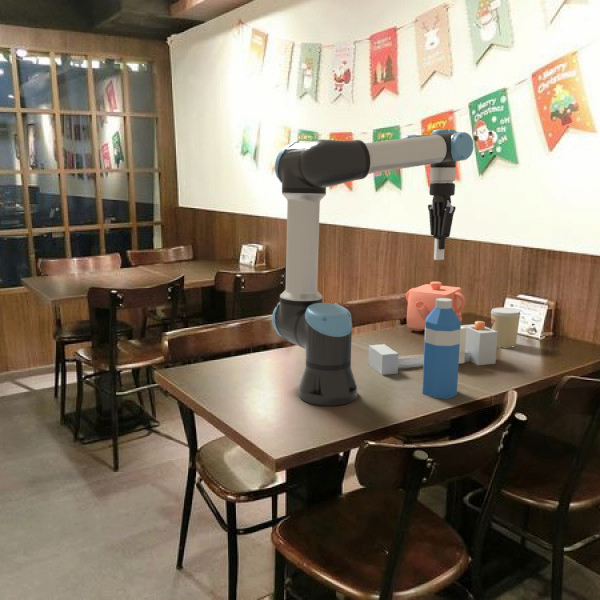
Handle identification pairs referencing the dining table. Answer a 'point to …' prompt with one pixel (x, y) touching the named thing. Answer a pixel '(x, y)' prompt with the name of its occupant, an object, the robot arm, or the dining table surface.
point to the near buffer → (383, 359)
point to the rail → (419, 360)
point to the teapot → (431, 302)
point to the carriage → (462, 344)
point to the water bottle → (441, 351)
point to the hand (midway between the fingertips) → (438, 259)
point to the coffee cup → (505, 325)
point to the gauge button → (479, 325)
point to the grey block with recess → (481, 345)
